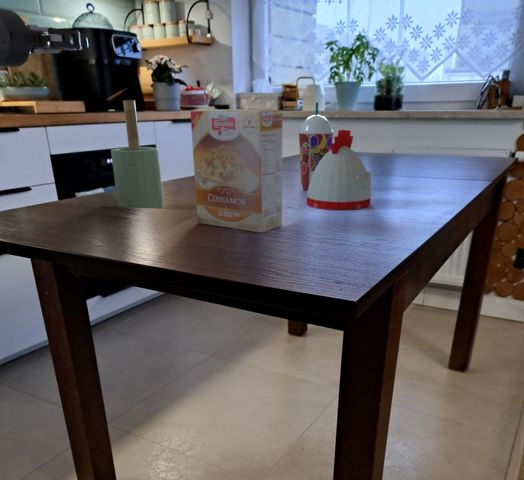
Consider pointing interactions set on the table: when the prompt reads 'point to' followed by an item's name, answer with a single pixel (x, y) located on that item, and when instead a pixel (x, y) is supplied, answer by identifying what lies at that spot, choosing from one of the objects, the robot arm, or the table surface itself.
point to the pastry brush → (131, 125)
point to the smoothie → (313, 144)
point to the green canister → (137, 177)
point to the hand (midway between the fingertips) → (66, 44)
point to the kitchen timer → (340, 178)
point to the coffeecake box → (238, 168)
